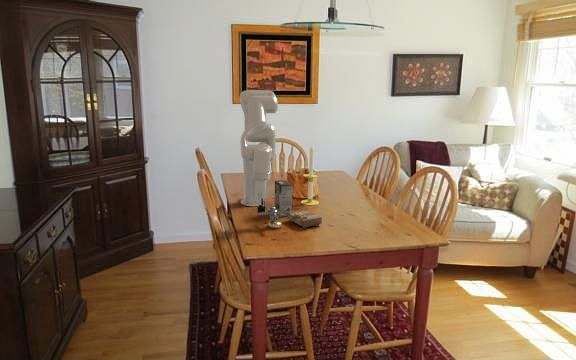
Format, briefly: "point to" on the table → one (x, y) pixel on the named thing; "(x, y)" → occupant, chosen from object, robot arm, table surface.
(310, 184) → the candle
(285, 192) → the coffee box
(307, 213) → the brown switch box
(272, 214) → the capstan
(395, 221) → the table surface
